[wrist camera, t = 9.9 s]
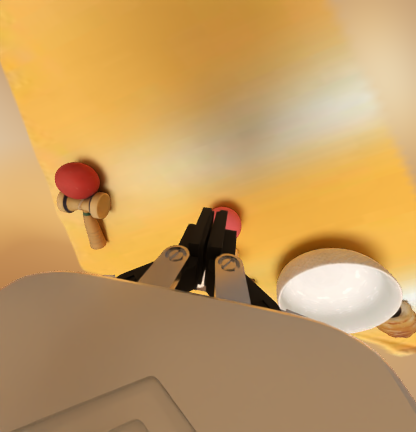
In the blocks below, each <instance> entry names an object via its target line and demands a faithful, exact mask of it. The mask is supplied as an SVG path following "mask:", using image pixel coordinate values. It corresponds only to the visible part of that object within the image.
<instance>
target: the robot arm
mask: <svg viewBox="0 0 416 432" xmlns="http://www.w3.org/2000/svg"><path fill="white" fill-rule="evenodd" d="M227 215H228V211H227V210H220V212H219V211H217V212H216V216H215V219H214V211H212V208H205V207H204V208H203V210H202V212H201V215H200V217H199V219H198V222H197V224H196V225H195V224H189V225H188V227H187V229H186V231H185V233H184V235H183V237H182V239H181V241H180V243H179V245H173V246H170V247H168V248H166V249H165V250H164V251H163V252H162V253H161V255H160V256H159V257H158V258H157V259H156V260H155V261H154V262H152V263H149V264H146V265H144V266H141V267H139V268H136V269H133V270H131V271H128V272H126V273H123V274H121V275H119V276H118V277H115V275H95V274H89V273H82V272H72V271H51V272H43V273H37V274H32V275H28V276H25V277H22V278H20V279H17V280H15V281H14V282H11V283H10V284H8V285H6V286H4V287H3V288H1V289H0V432H416V402H415V400H414V398H413V397H412V396H411V394H410V393H409V391H408V390H407V388H406V387H405V385H404V384H403V383H402V381H401V380H400V378H399V377H398V376H397V374H396V373H395V372H394V370H393V369H392V368H391V367H390V366H389V364H388V363H387V362H386V361H385V360H384V359H383V358H382V357H381V356H380V355H379V354H378V353H377V352H376V351H375V350H373V349H372V348H371V347H369V346H368V345H367V344H365V343H364V342H362V341H360V340H359V339H357V338H356V337H354V336H352V335H350V334H348V333H346V332H344V331H342V330H340V329H338V328H336V327H333V326H331V325H329V324H326V323H324V322H321V321H318V320H314V319H311V318H308V317H306V316H303V315H301V314H298V313H296V312H293V311H291V310H288V309H286V311H284V310H282V309H280V307H279V306H278V305H277V304H276V302H275V301H273V300H272V299H271V298H270V297H269V296H268V295H267V294H266V293H265V292H264V291H263V290H262V289H261V288H259V287H258V286H257V285H256V284H255V283H254V282H253V281H252V280H251V279H250V278H249V277H248V276H247V275H246V274H245V272H244V267H243V263H242V261H241V260H240V258H238V257H237V256H235V252H236V235H237V231H234V230H228V229H226V222H227ZM213 222H214V223H213ZM204 272H205V276H204ZM203 276H204V286H206V292H207V293H208V295H209V296H205V295H200V294H195V293H190V292H189V291H191V290H193V289H194V290H197V286H198V284H199V285H201V284H202V280H203Z"/></svg>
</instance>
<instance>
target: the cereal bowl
mask: <svg viewBox="0 0 416 432" xmlns="http://www.w3.org/2000/svg"><path fill="white" fill-rule="evenodd" d="M402 298H403V295H402V290H401V287H400V285H399V284H398V282H397V281H396V279H395V278H394V277H393V276H392V274H390V273H389V272H388V271H387V270H386V269H385V268H384V267H383V266H382V265H380V264H379V263H378V262H377V261H375V260H373V259H372V258H370V257H368V256H366V255H363V254H362V253H358V252H356V251H352V250H347V249H340V248H325V249H316V250H313V251H310V252H306V253H304V254H302V255H299V256H297V257H296V258H294V259H293V260H291V261H290V262H289V263H288V264H287V265H286V266H285V267H284V268H283V270H282V271H281V273H280V275H279V277H278V281H277V299H278V305H279V307H280V309H282V310H284V311H286V309H288V310H291V311H293V312H296V313H298V314H301V315H303V316H306V317H308V318H311V319H314V320H318V321H321V322H324V323H326V324H329V325H331V326H333V327H336V328H338V329H340V330H342V331H344V332H346V333H356V332H360V331H365V330H368V329H371V328H374V327H376V326H379V325H380V324H382V323H384V322H386V321H387V320H388V319H390V318H391V317H392V316H393V315H394V314H395V313H396V312H397V311H398V309H399V308H400V306H401V303H402Z"/></svg>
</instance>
